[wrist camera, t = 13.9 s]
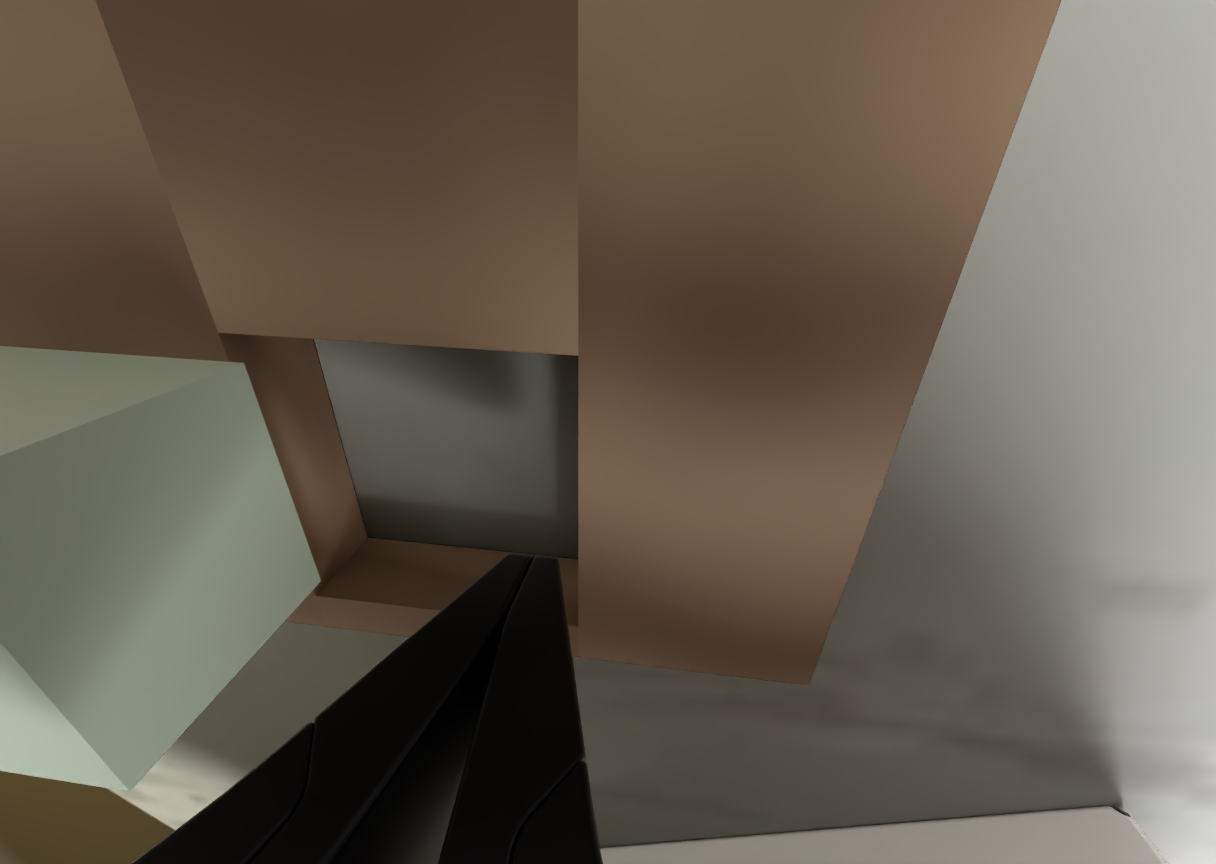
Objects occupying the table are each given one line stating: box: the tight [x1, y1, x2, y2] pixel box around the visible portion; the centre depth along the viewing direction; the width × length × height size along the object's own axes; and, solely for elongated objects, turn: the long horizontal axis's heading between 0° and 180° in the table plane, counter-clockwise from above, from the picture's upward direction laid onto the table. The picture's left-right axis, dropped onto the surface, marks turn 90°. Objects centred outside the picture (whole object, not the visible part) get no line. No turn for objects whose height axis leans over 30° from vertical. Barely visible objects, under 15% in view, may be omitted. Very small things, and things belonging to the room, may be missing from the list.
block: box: [0, 346, 321, 792], centre depth 7 cm, size 5×5×4 cm
